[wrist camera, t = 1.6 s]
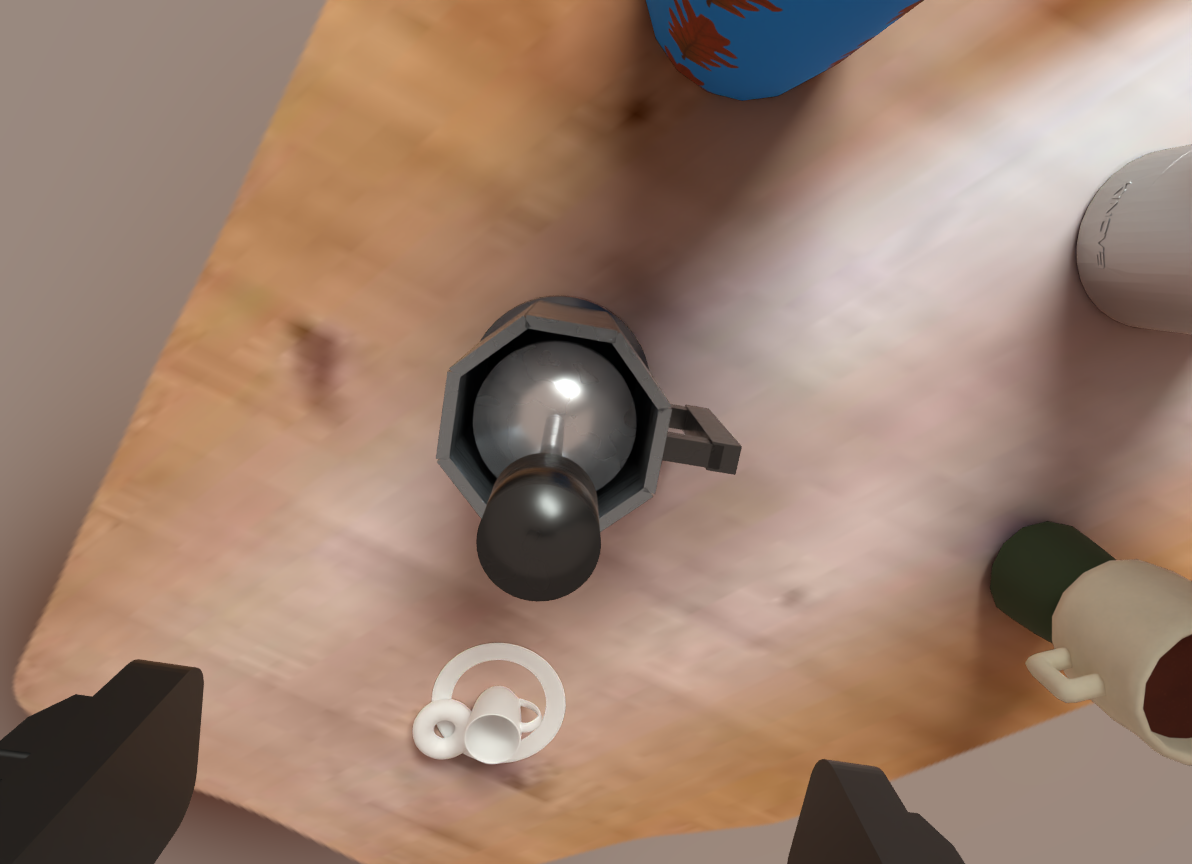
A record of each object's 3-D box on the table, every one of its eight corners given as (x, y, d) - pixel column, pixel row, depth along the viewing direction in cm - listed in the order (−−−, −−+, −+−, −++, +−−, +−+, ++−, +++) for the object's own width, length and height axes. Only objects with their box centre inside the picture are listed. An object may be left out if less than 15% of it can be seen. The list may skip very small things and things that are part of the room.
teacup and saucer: (414, 748, 47) (398, 794, 43) (425, 629, 45) (411, 666, 41) (557, 763, 47) (555, 810, 43) (573, 646, 45) (573, 684, 41)
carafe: (715, 321, 41) (768, 346, 29) (679, 491, 43) (717, 576, 31) (484, 280, 40) (447, 290, 29) (459, 455, 42) (416, 529, 31)
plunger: (648, 354, 32) (705, 432, 18) (619, 507, 34) (650, 689, 19) (487, 326, 32) (415, 383, 18) (465, 482, 33) (381, 649, 19)
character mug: (952, 645, 45) (1097, 796, 33) (934, 536, 44) (1078, 650, 31) (1134, 600, 45) (1352, 735, 32) (1122, 489, 44) (1345, 584, 31)
